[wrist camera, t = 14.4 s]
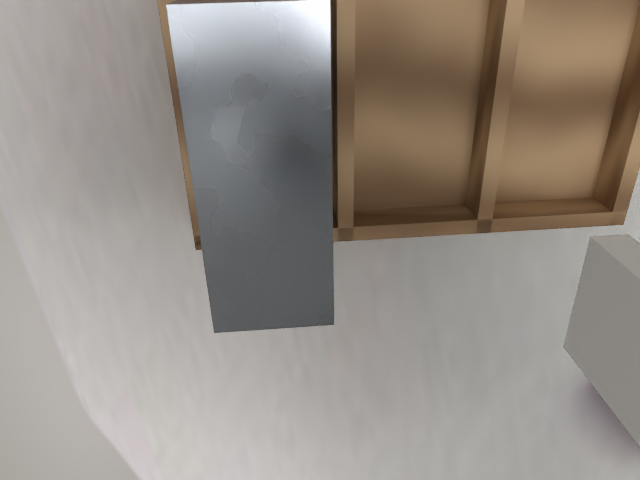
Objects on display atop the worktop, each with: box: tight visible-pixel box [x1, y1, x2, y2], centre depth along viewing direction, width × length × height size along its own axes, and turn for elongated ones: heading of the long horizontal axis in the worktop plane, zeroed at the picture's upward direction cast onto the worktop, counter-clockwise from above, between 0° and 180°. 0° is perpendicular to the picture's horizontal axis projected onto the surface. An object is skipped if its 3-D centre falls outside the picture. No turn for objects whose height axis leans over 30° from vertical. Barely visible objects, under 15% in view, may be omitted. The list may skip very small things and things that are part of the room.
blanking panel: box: [166, 0, 334, 333], centre depth 21 cm, size 10×4×12 cm, turn 1°
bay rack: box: [157, 0, 640, 250], centre depth 26 cm, size 15×23×3 cm, turn 91°
